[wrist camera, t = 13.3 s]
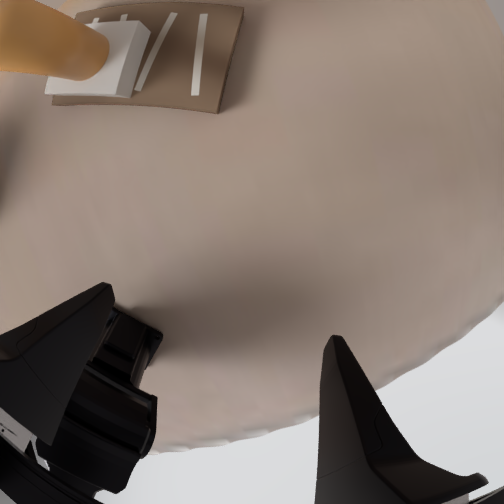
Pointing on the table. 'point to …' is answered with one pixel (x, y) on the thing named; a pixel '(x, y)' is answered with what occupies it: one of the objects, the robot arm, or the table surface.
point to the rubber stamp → (70, 50)
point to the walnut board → (174, 54)
